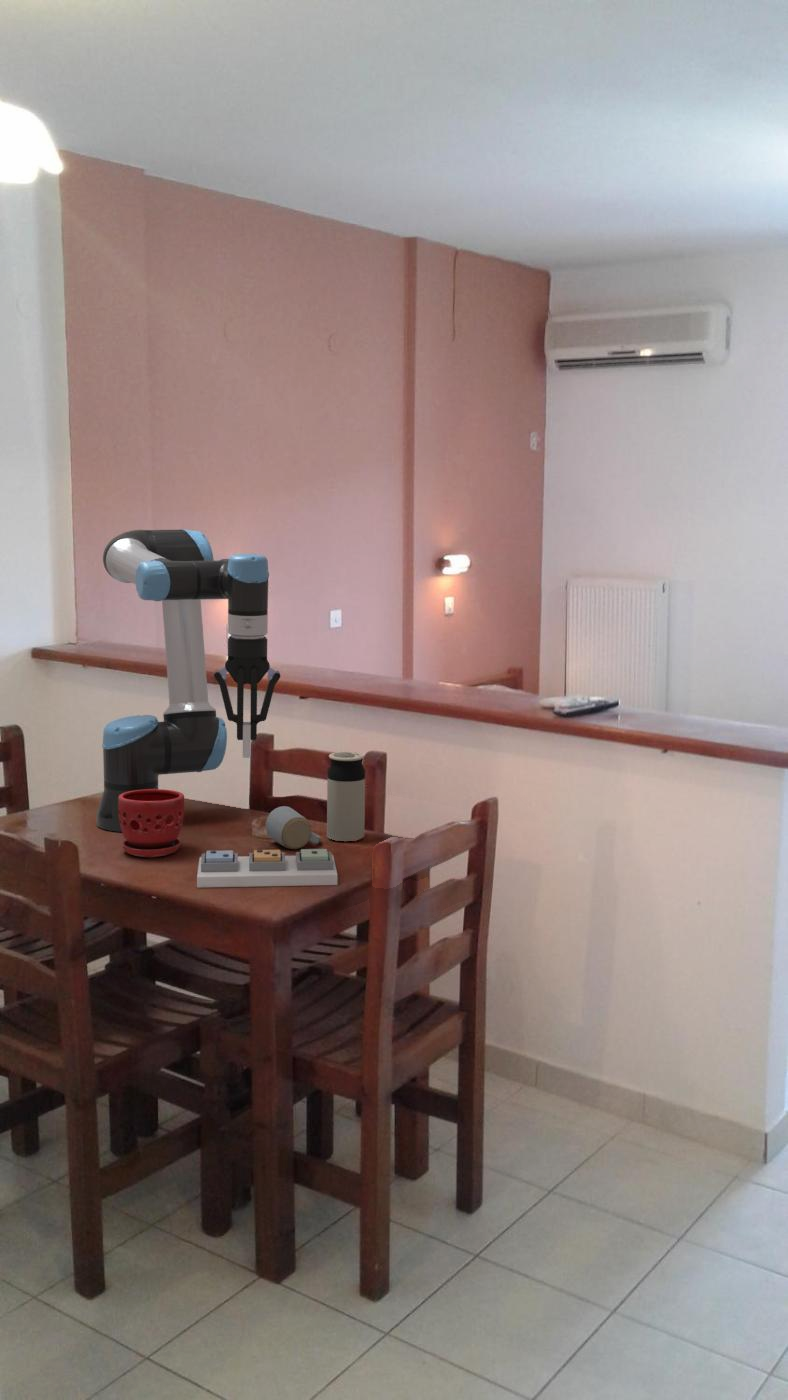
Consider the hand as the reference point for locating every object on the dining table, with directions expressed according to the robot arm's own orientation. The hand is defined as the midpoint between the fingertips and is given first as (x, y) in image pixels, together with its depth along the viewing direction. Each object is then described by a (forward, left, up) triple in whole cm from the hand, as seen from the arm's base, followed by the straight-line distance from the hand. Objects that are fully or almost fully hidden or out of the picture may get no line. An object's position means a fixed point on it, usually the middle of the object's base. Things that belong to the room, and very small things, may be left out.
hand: (246, 755), depth 246 cm
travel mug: (-18, +21, -22) cm, 35 cm away
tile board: (+8, +4, -22) cm, 24 cm away
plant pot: (-10, -19, -22) cm, 31 cm away
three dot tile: (+8, +4, -19) cm, 21 cm away
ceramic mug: (-13, +10, -22) cm, 28 cm away
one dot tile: (+8, +13, -19) cm, 25 cm away
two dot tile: (+8, -5, -19) cm, 22 cm away
